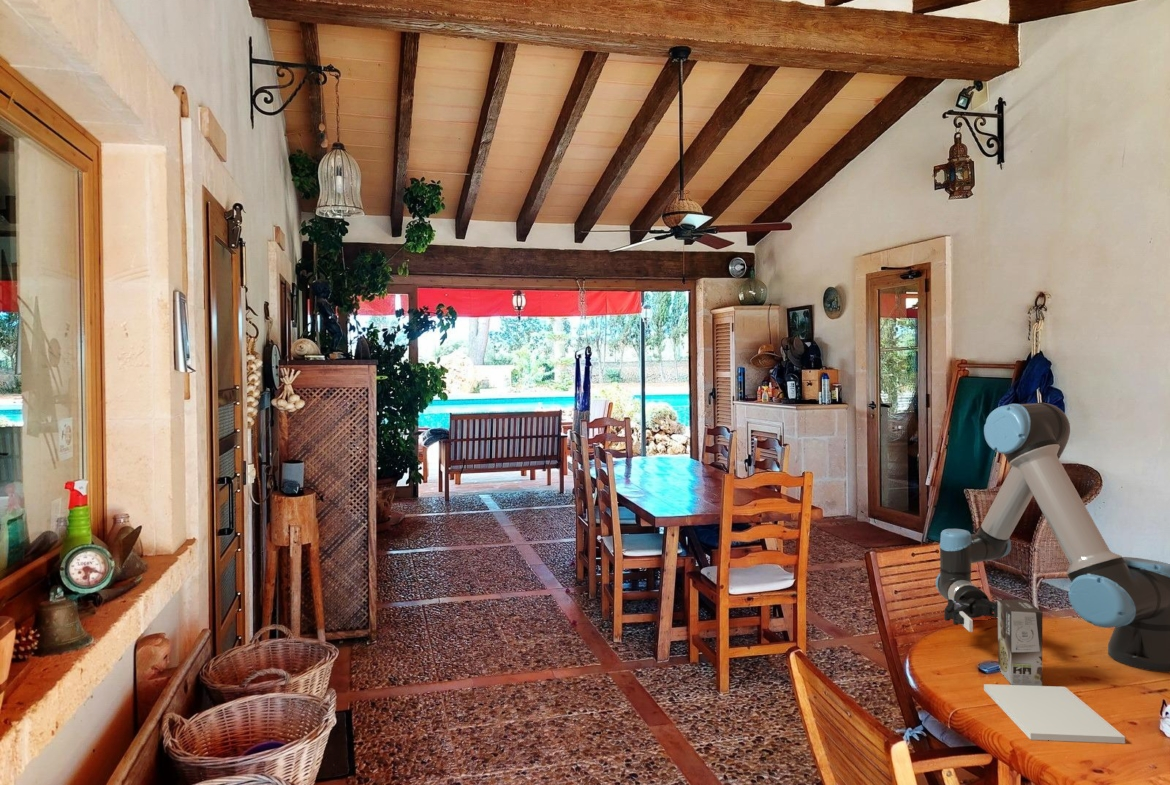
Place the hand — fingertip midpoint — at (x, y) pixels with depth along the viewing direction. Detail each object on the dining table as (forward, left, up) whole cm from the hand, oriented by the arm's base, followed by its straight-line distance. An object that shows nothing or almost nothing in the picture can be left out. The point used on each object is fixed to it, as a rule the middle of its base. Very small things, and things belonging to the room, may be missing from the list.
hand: (1002, 626), depth 176 cm
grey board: (+2, +26, -9) cm, 28 cm away
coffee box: (0, +8, -9) cm, 12 cm away
